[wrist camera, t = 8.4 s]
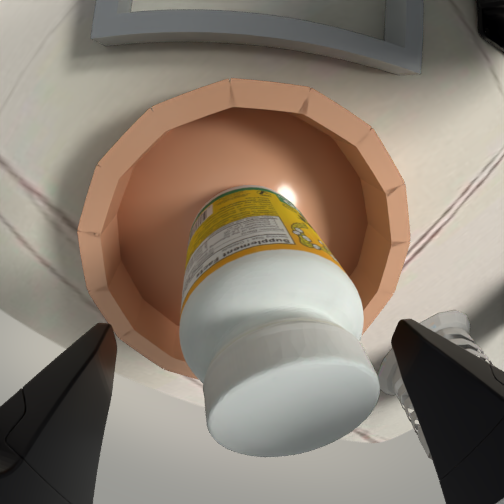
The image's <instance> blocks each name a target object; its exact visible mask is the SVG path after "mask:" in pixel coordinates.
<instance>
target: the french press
mask: <svg viewBox="0 0 504 504" xmlns="http://www.w3.org/2000/svg"><path fill="white" fill-rule="evenodd" d="M419 324H421V325H423V326H425V327H427V328H428V329H430V330H432V331H434V332H435V333H437V334H439V335H441V336H442V337H444V338H446V339H448V340H449V341H451V342H453V343H455V344H456V345H458V346H460V347H462V348H463V349H465V350H467V351H469V352H470V353H472V354H474V355H477V356H480V358H481V359H483V360H484V361H485V360H486V359H487V360H488V361H489V363H490V364H491V365H492V363H491V361H490V360H489V358H488V357H487V356H486V355H485V354H484V353H483V351H482V350H481V349H480V347H479V346H478V345H476V343H475V342H474V340H473V339H472V338H471V337H470V336H469V333H470V322H469V320H468V317H467V315H466V314H464V313H462V312H459V311H457V310H452V311H447V312H442V313H438V314H436V315H434V316H432V317H430V318H428V319H427V320H425V321H423V322H421V323H419ZM478 349H479V350H480V351H481V353H480V352H477V350H478ZM493 366H494V365H493ZM377 376H378V380H379V385H380V389H381V390H382V391H383V392H385V393H386V394H389V395H396V396H397V398H398V399H399V401H400V403H401V405H402V404H403V405H404V407H405V408H404V407H403V405H402V408H403V409H404V410H405V412H406V414H407V417H408V419H409V417H410V418H411V420H410V419H409V420H410V422H411V423H412V426H413V428H414V430H415V428H416V429H417V430H418V432H417V431H416V430H415V432H416V433H417V435H418V438H419V440H420V442H421V444H422V446H423V448H424V450H425V452H426V454H427V456H428V457H429V458H431V459H432V457H431V454H430V451H429V448H428V446H427V443H426V440H425V437H424V434H423V432H422V429H421V426H420V425H418V424H415V422H414V421H415V420H418V418H417V416H416V413H415V411H413V412H412V413H408V408H409V409H413V410H414V408H413V405H412V403H411V400H410V398H409V395H408V393H407V390H406V388H405V385H404V383H403V380H402V377H401V374H400V370H399V367H398V364H397V361H396V357H395V354H394V351H393V348H392V349H391V350H390V352H389V353H388V354H387V356H386V357H385V358H384V359H383V362H382V364H381V367H380V369H379V372H378V374H377Z"/></svg>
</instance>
